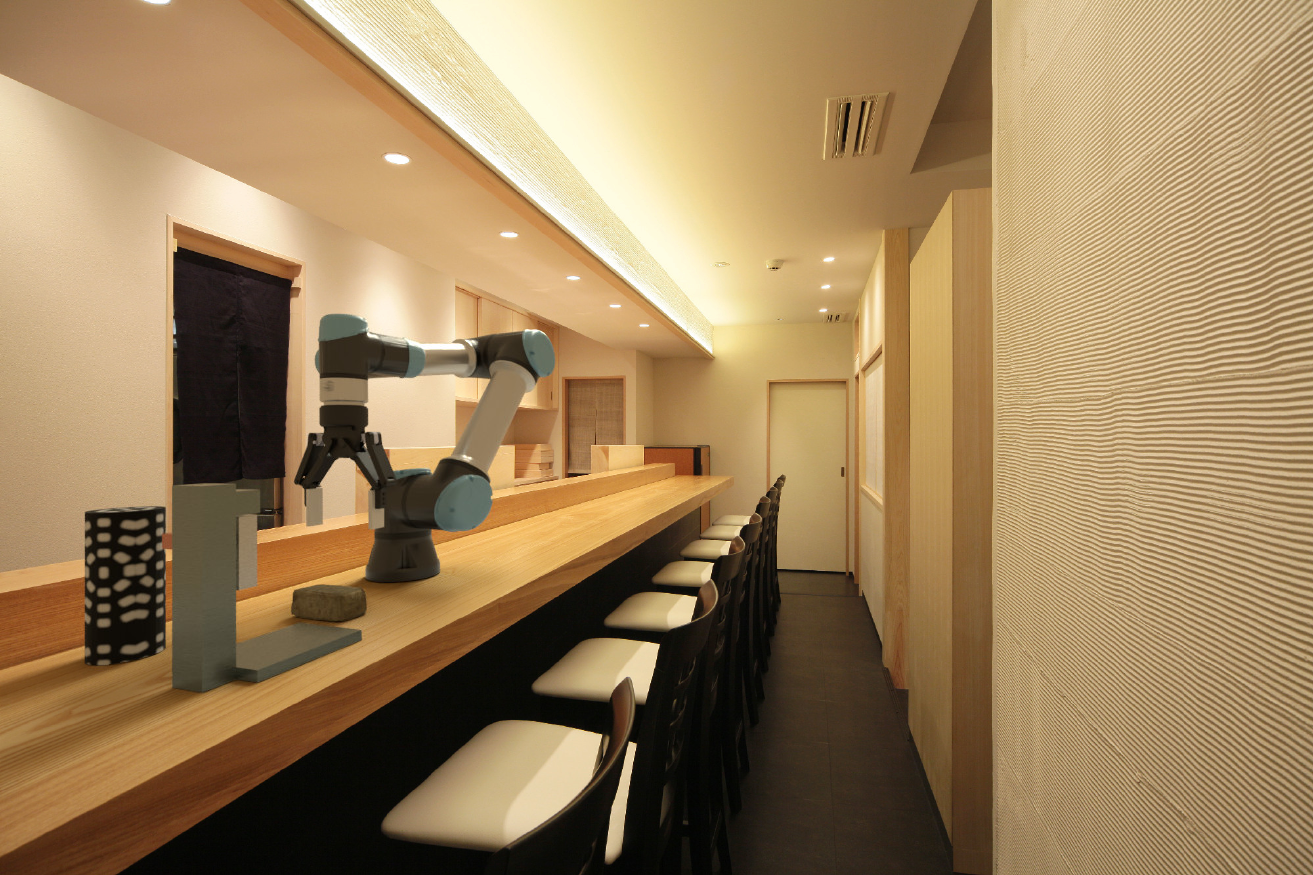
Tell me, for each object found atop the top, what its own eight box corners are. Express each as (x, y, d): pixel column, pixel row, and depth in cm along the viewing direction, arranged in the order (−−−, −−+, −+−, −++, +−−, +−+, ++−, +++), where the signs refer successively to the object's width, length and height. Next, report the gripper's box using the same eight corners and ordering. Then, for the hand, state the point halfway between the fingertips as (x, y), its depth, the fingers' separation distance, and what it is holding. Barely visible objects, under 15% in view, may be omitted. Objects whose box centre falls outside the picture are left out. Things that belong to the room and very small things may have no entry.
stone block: (341, 625, 94) (341, 593, 94) (287, 619, 97) (287, 589, 97) (369, 614, 99) (369, 585, 99) (317, 610, 103) (317, 581, 103)
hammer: (191, 578, 80) (191, 511, 80) (261, 584, 76) (261, 514, 76) (162, 584, 77) (162, 514, 77) (234, 591, 73) (234, 517, 73)
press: (299, 632, 89) (299, 475, 90) (361, 639, 86) (361, 476, 86) (151, 684, 70) (152, 485, 71) (223, 696, 67) (223, 486, 67)
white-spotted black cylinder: (139, 663, 77) (139, 512, 77) (66, 667, 76) (67, 513, 76) (179, 642, 85) (179, 505, 86) (115, 645, 84) (115, 507, 84)
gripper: (270, 405, 102) (270, 527, 102) (386, 401, 94) (387, 532, 94) (307, 407, 109) (308, 521, 109) (418, 403, 101) (419, 526, 101)
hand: (344, 526), depth 101 cm, fingers open, 13 cm apart
